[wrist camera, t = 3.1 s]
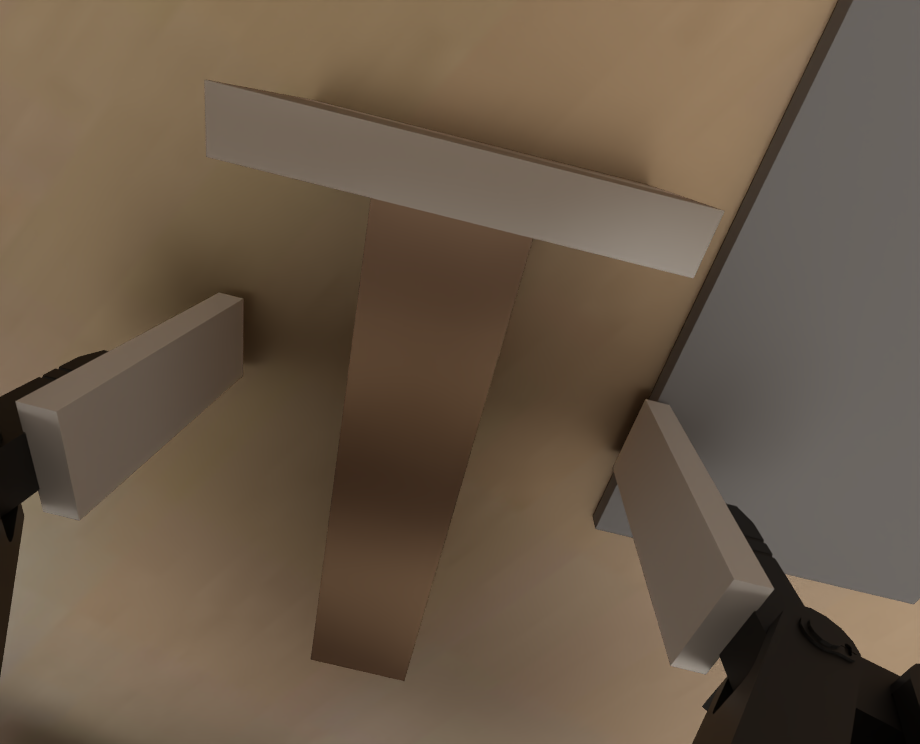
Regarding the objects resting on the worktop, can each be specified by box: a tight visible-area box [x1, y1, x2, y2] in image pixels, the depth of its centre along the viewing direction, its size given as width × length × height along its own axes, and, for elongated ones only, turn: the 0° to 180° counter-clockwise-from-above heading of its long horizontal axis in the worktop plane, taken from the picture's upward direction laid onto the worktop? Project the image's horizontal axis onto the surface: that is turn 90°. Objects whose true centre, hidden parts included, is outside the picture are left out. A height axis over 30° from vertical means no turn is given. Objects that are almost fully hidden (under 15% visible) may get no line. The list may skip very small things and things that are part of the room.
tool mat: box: [593, 0, 920, 604], centre depth 13 cm, size 18×12×1 cm, turn 168°
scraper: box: [205, 80, 724, 681], centre depth 14 cm, size 15×9×5 cm, turn 168°
